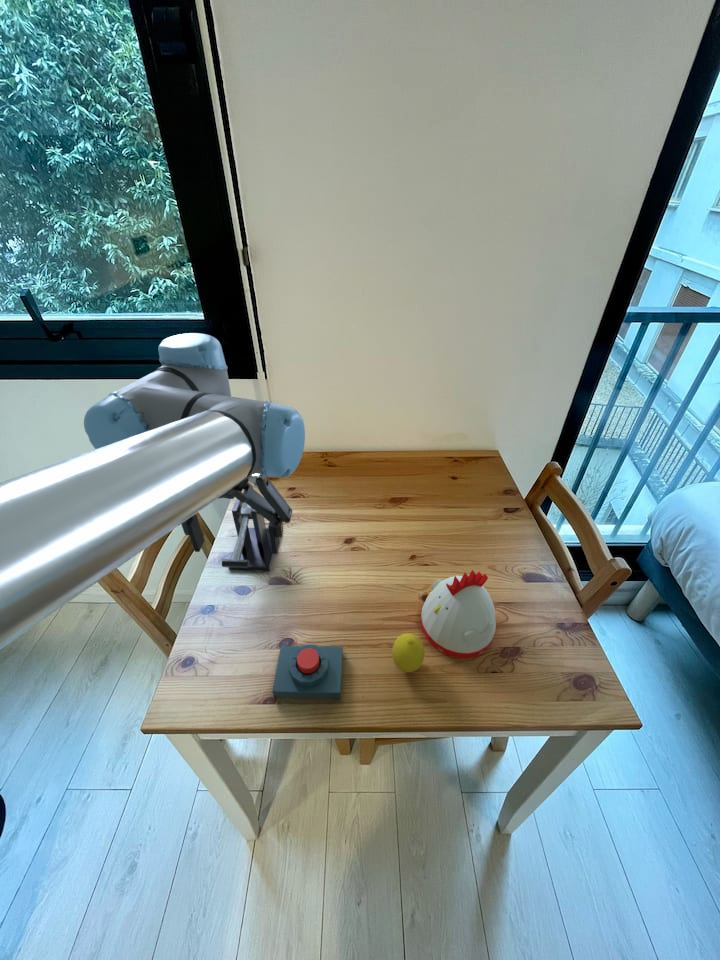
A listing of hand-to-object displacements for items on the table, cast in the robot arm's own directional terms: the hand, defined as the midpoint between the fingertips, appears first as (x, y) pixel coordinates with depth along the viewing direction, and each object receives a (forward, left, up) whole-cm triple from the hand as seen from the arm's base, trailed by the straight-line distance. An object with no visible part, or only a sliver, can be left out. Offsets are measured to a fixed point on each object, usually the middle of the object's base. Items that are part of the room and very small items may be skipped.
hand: (238, 547), depth 72 cm
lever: (+6, +8, -7) cm, 12 cm away
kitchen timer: (+22, -34, -16) cm, 44 cm away
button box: (-3, -19, -16) cm, 25 cm away
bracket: (+10, +11, -16) cm, 22 cm away
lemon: (+9, -31, -16) cm, 36 cm away
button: (-3, -19, -13) cm, 23 cm away
